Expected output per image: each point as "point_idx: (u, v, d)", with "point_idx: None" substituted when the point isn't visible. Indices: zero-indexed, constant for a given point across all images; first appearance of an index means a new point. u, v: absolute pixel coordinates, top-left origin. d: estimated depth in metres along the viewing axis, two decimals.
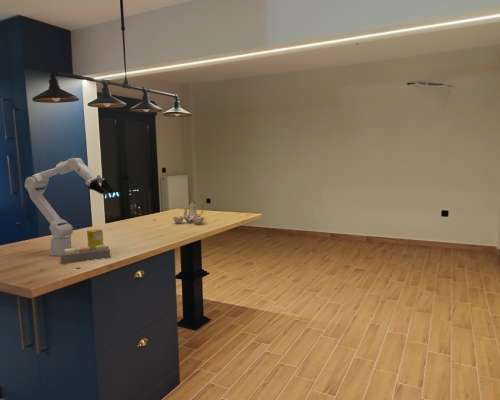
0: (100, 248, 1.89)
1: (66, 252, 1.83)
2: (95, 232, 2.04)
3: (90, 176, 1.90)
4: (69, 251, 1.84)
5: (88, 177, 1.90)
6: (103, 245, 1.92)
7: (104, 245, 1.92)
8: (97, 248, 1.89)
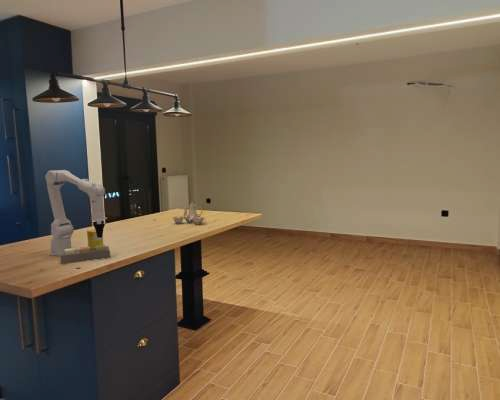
0: (100, 248, 1.89)
1: (66, 252, 1.83)
2: (95, 232, 2.04)
3: (101, 214, 1.88)
4: (69, 251, 1.84)
5: (98, 214, 1.87)
6: (103, 245, 1.92)
7: (104, 245, 1.92)
8: (97, 248, 1.89)
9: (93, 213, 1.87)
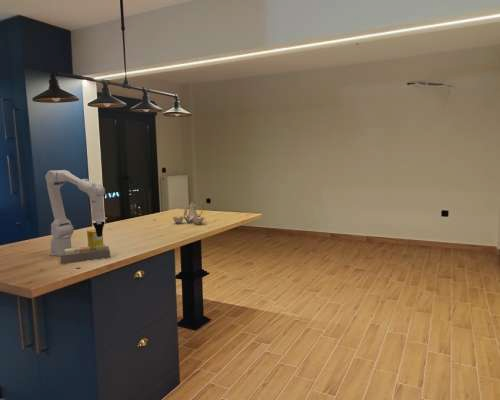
0: (100, 248, 1.89)
1: (66, 252, 1.83)
2: (95, 232, 2.04)
3: (101, 214, 1.88)
4: (69, 251, 1.84)
5: (98, 214, 1.87)
6: (103, 245, 1.92)
7: (104, 245, 1.92)
8: (97, 248, 1.89)
9: (93, 213, 1.87)
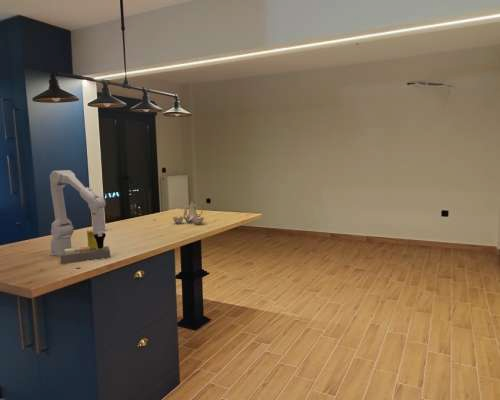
0: None
1: (66, 252, 1.83)
2: None
3: (101, 227, 1.88)
4: (69, 251, 1.84)
5: (99, 226, 1.88)
6: (103, 247, 1.92)
7: (104, 247, 1.92)
8: None
9: (94, 225, 1.88)
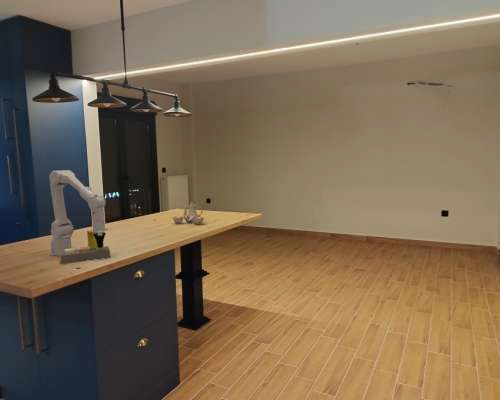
0: None
1: (66, 252, 1.83)
2: None
3: (101, 226, 1.88)
4: (69, 251, 1.84)
5: (99, 225, 1.88)
6: (103, 247, 1.92)
7: (104, 247, 1.92)
8: None
9: (94, 224, 1.88)
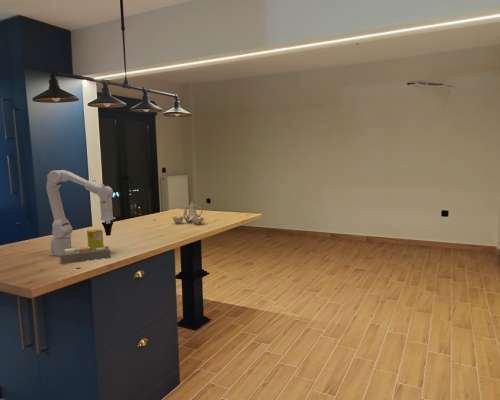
0: None
1: (66, 252, 1.83)
2: (95, 232, 2.04)
3: (109, 214, 1.95)
4: (69, 251, 1.84)
5: (107, 214, 1.95)
6: (103, 247, 1.92)
7: (104, 247, 1.92)
8: None
9: (102, 213, 1.94)
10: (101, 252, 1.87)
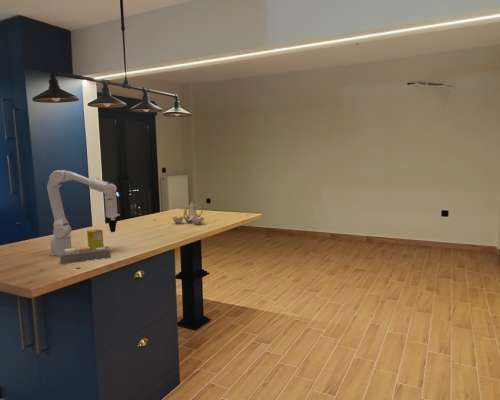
0: None
1: (66, 252, 1.83)
2: (95, 232, 2.04)
3: (114, 211, 2.00)
4: (69, 251, 1.84)
5: (112, 211, 1.99)
6: (103, 247, 1.92)
7: (104, 247, 1.92)
8: None
9: (107, 210, 1.99)
10: (101, 252, 1.87)
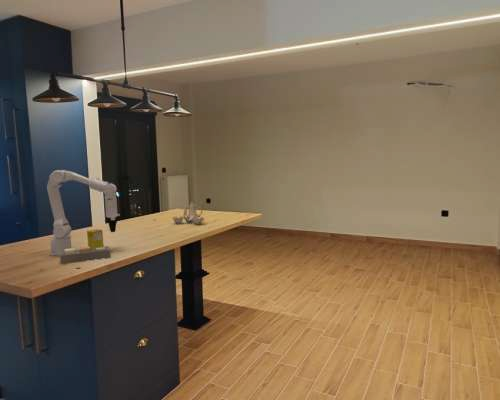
0: None
1: (66, 252, 1.83)
2: (95, 232, 2.04)
3: (114, 211, 2.00)
4: (69, 251, 1.84)
5: (112, 211, 1.99)
6: (103, 247, 1.92)
7: (104, 247, 1.92)
8: None
9: (107, 210, 1.99)
10: (101, 252, 1.87)
